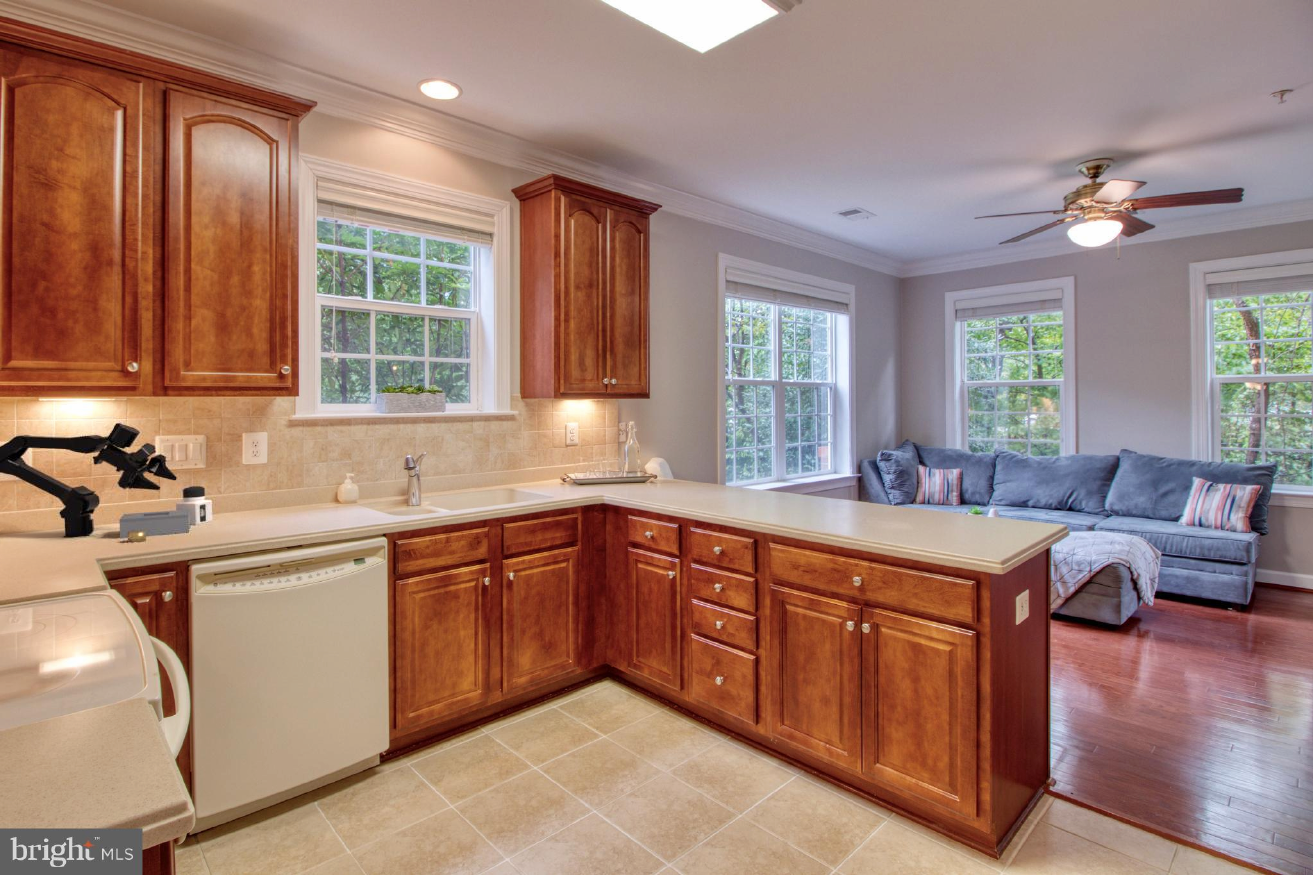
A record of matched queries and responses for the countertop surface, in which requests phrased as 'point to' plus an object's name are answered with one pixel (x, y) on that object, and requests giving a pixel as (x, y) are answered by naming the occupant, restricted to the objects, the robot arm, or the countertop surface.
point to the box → (155, 522)
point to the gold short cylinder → (136, 536)
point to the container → (196, 505)
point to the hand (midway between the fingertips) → (168, 483)
